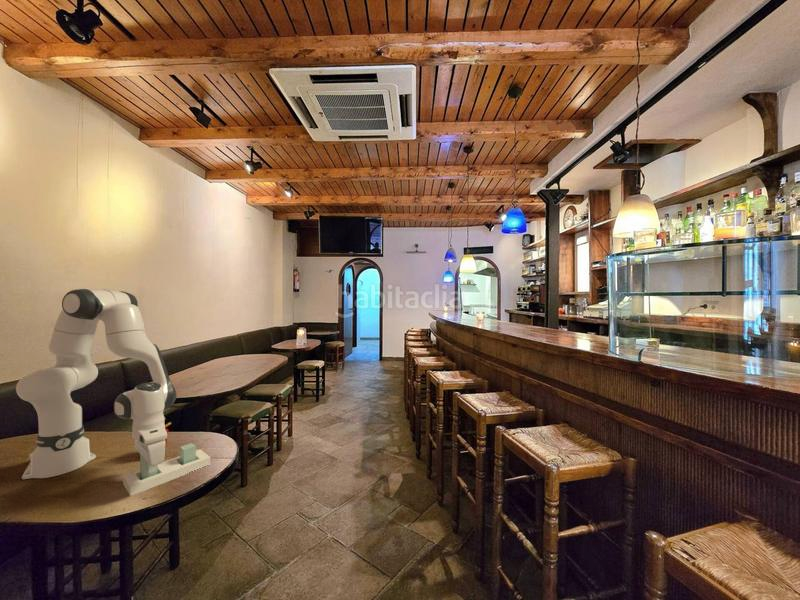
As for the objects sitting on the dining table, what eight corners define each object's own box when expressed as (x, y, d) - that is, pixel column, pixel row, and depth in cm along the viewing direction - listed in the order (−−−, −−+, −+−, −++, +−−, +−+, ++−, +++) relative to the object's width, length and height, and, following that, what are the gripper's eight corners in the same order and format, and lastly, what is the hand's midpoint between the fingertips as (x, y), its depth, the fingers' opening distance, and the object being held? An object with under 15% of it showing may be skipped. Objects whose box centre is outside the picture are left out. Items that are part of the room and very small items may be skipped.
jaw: (140, 477, 109) (140, 454, 109) (154, 472, 112) (154, 450, 112) (143, 481, 107) (143, 458, 106) (157, 476, 110) (157, 454, 110)
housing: (122, 484, 108) (122, 461, 108) (200, 456, 127) (200, 437, 127) (130, 496, 102) (130, 471, 101) (210, 464, 121) (210, 444, 120)
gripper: (129, 424, 113) (129, 462, 113) (145, 441, 100) (145, 484, 101) (151, 419, 118) (151, 455, 118) (169, 435, 105) (168, 475, 106)
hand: (148, 468), depth 109 cm, fingers closed on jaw, 4 cm apart
